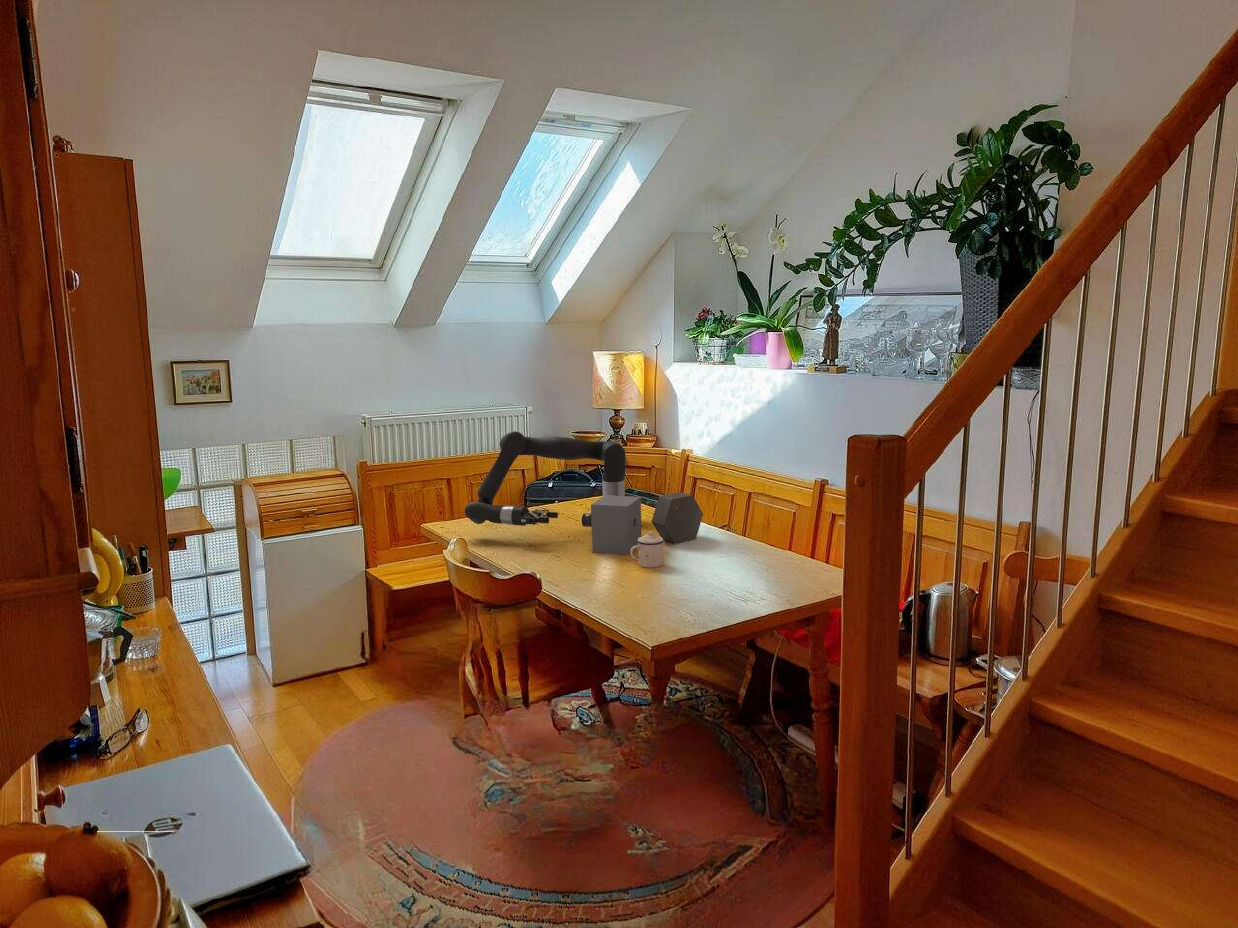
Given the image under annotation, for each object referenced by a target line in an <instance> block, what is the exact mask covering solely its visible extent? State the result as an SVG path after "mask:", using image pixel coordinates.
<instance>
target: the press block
mask: <svg viewBox="0 0 1238 928" xmlns="http://www.w3.org/2000/svg"><path fill="white" fill-rule="evenodd" d="M590 514H591V525H592V527H591V546H592V547H591V550H592V553H595V554H596V553H597V554H608V555H609V554H611V555H624V556H629V555H631V554H630V550H631V548H632V547H633V546H636V545H638V542H637V541H638V538H640V537H642V536H643V535H642V497H641V496H629V495H628V496H627V495H626V496H610V495H605V496H604V497H603V496H602V497H601V498H599V499H597V500H596V501H594V502H593V503H591V504H590ZM635 549H637V548H635ZM635 549H634V550H633V552H634V551H635Z"/></svg>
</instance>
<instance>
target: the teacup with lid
mask: <svg viewBox="0 0 1238 928" xmlns="http://www.w3.org/2000/svg"><path fill="white" fill-rule="evenodd" d="M664 541H665V540H663V538H662V537H661V536H660V535H656V534H654V531H650V530H649V531H647V533H646V534H645V535H642V537H640V538H638V541H637V542H638V545H636V546H633V547H632V548H631V550H630V554H629V555H630V556H631V557H632V559H633V560H635V561H636V560H637V561H638V565H639V566H640V567H643V568H649V569H651V568H660V567H661V566H663V565H664ZM635 548H636V549H637V551H638V554H637V555H638V557H637V556H635V555H634V551H635V550H634V549H635ZM633 550H634V551H633Z"/></svg>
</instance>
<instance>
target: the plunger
mask: <svg viewBox="0 0 1238 928" xmlns="http://www.w3.org/2000/svg"><path fill="white" fill-rule="evenodd" d="M581 526H582V527H584V528H592V525H591V512H588V513H586V512H585V513H583V514H582V516H581Z"/></svg>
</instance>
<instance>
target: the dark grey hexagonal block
mask: <svg viewBox="0 0 1238 928" xmlns="http://www.w3.org/2000/svg"><path fill="white" fill-rule="evenodd" d="M657 499H658V500H657V503H656V505H655V509H654V511H653V515H652V518H651V521H650V522H651V524H652V525H653V527H654V528H655V530H656V531H657V534H658V536H660V537H662V538H663V540H664V541H665V542H668V543H671V544H674V545H676V544H682V543H686V542H690V541H695V540H696V539H697V536H698V533H699V529H700V527H701V524H702V520H703V516H704V513H703V511H702V509H701V507H700V506H699V504H698V502H697V501H696V499H695V497H694V496H693V494H687V493H684V492H674V493H669V494H663V495H659V496H658V498H657Z"/></svg>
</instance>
